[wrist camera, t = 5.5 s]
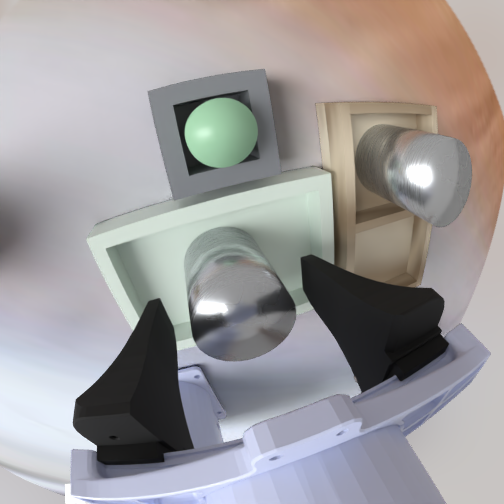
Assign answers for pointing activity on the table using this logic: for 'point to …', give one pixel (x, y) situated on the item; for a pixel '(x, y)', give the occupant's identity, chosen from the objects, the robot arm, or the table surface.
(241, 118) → the button
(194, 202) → the pale green tray
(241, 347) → the billet
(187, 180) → the frame
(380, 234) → the divided tray
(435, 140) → the cylinder
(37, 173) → the table surface
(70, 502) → the basket
